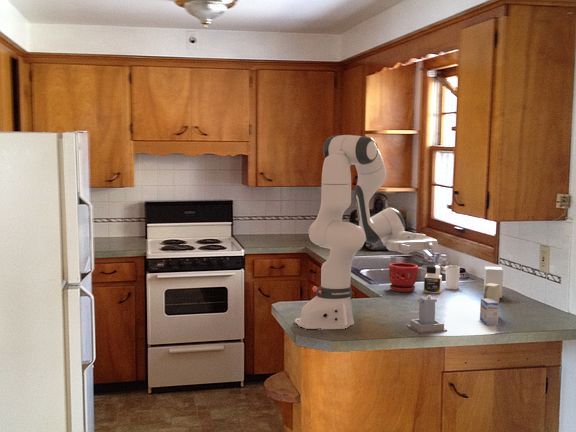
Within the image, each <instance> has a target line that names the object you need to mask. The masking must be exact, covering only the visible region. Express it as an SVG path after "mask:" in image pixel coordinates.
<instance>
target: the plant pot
mask: <svg viewBox="0 0 576 432" xmlns="http://www.w3.org/2000/svg"><path fill="white" fill-rule="evenodd" d="M388 273H389V274H388V277H389V281H390V283H391V284H390V285H389V288H390V289H391V290H392V291H394V292H399V293H401V292H402V293H410V292H413V291H414V290H415V289H416V286H415V284H416V282H417V279H418V273H419V266H418V265H417V264H415V263H407V262H393V263H389V267H388Z"/></svg>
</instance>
